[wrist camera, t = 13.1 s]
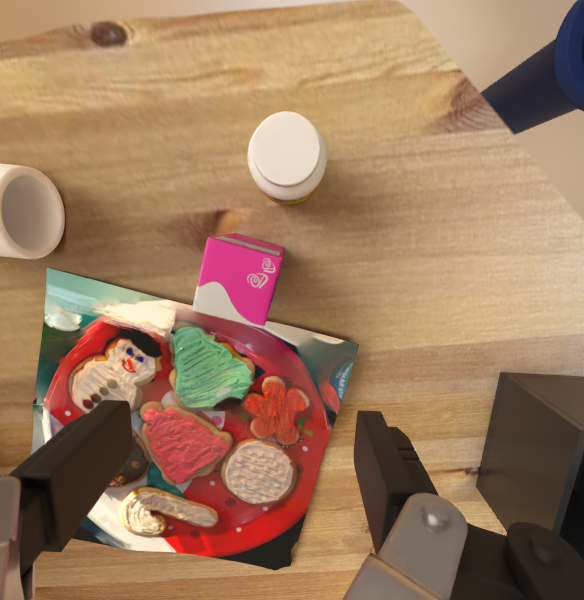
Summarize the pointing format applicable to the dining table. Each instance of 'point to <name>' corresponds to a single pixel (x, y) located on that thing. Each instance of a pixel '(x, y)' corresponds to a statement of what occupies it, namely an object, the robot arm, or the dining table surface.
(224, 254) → the supplement box
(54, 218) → the mug
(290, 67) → the dining table surface
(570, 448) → the bin
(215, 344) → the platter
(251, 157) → the pill bottle
